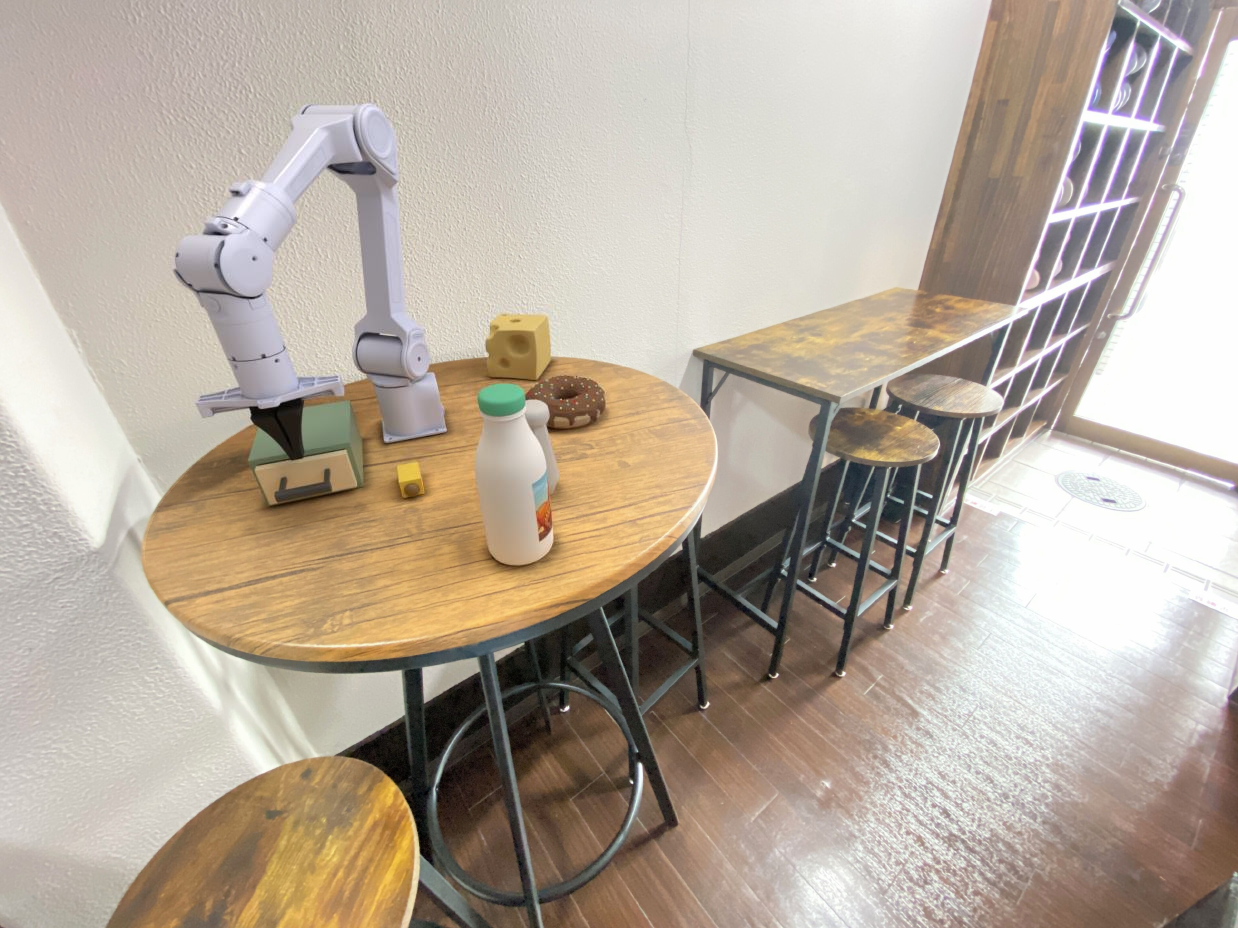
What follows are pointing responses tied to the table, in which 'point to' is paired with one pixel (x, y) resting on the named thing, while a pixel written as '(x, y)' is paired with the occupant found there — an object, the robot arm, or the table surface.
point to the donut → (569, 400)
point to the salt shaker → (543, 437)
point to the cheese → (518, 346)
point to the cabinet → (316, 439)
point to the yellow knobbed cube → (410, 480)
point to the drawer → (306, 476)
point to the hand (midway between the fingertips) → (297, 455)
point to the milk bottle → (512, 479)
